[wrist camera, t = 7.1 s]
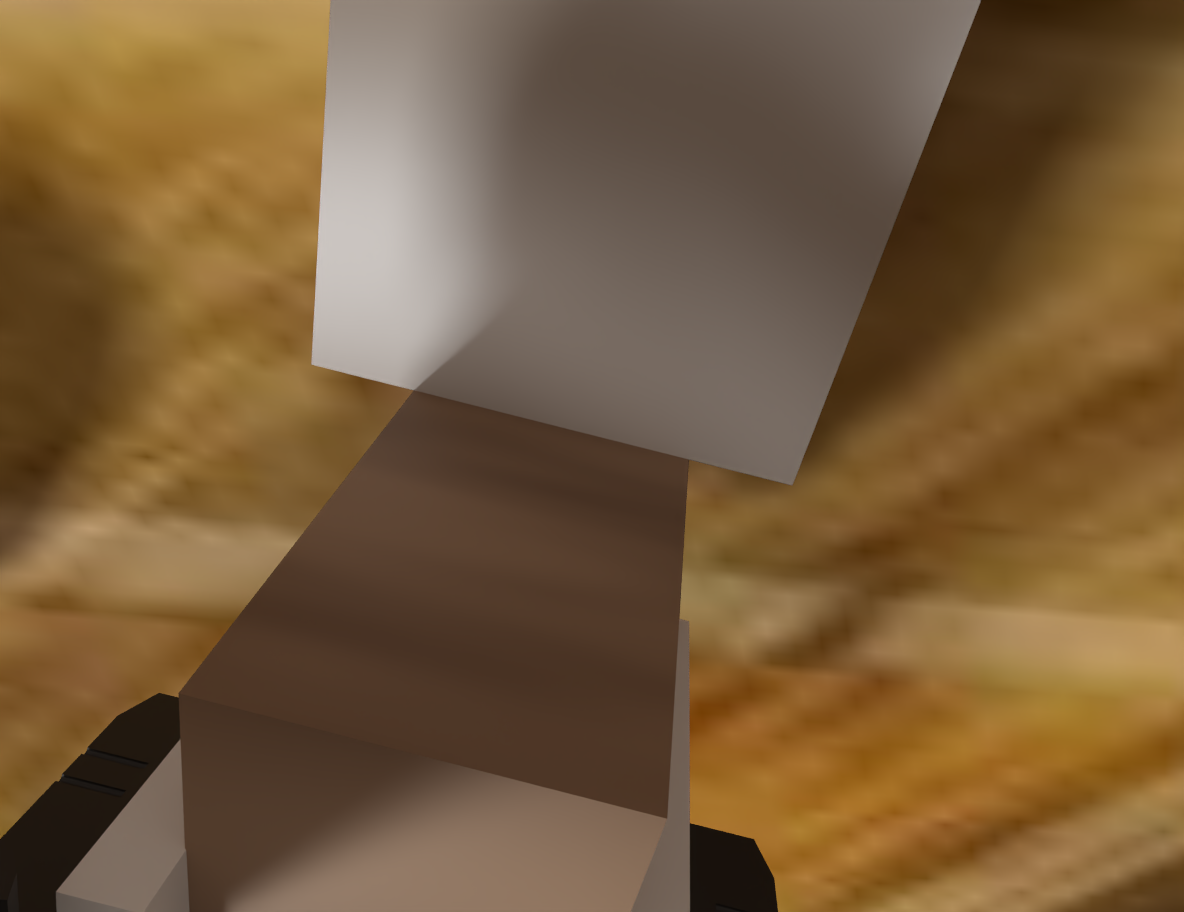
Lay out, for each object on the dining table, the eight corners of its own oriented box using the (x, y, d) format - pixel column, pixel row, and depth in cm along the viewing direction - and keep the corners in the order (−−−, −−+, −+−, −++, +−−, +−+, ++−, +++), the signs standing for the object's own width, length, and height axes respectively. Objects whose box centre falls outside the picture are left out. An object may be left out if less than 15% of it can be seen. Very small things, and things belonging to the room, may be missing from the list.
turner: (633, 860, 18) (589, 1317, 12) (308, 776, 18) (94, 1186, 12) (1030, -196, 9) (1728, -632, 3) (387, -352, 9) (-320, -1110, 3)
